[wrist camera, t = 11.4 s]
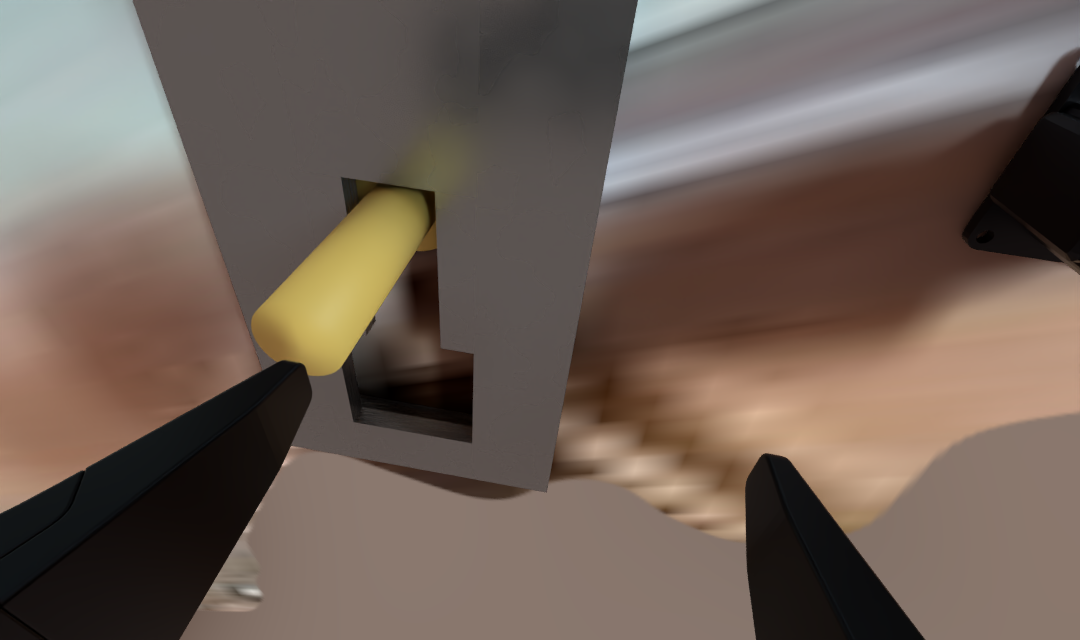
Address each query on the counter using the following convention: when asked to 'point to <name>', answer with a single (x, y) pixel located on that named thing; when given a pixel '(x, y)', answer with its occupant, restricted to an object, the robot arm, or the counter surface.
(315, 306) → the headed peg
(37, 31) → the counter surface
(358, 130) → the keyhole plate
